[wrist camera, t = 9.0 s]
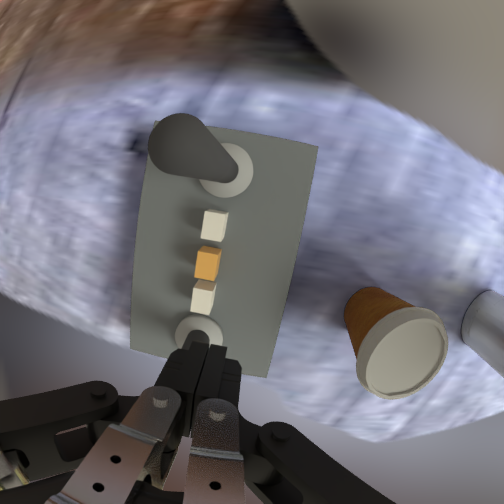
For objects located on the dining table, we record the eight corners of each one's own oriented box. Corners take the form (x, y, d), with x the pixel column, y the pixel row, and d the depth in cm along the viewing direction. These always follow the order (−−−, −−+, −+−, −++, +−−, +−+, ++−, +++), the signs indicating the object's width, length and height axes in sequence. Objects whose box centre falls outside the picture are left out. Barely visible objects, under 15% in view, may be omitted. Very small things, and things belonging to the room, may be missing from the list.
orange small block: (221, 249, 28) (218, 255, 26) (217, 273, 29) (213, 281, 26) (203, 245, 28) (197, 251, 26) (199, 269, 29) (194, 277, 26)
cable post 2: (226, 319, 30) (196, 444, 13) (219, 359, 31) (191, 485, 14) (179, 309, 30) (111, 420, 13) (175, 349, 31) (119, 465, 14)
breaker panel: (311, 151, 30) (324, 142, 24) (265, 359, 35) (266, 391, 29) (166, 128, 30) (145, 114, 23) (141, 333, 35) (121, 359, 29)
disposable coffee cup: (315, 325, 34) (338, 385, 23) (361, 258, 32) (408, 293, 21) (372, 355, 35) (406, 412, 23) (415, 296, 33) (467, 337, 22)
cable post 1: (257, 149, 26) (256, 90, 10) (247, 201, 28) (231, 220, 11) (205, 141, 26) (133, 80, 10) (195, 192, 27) (109, 199, 11)
